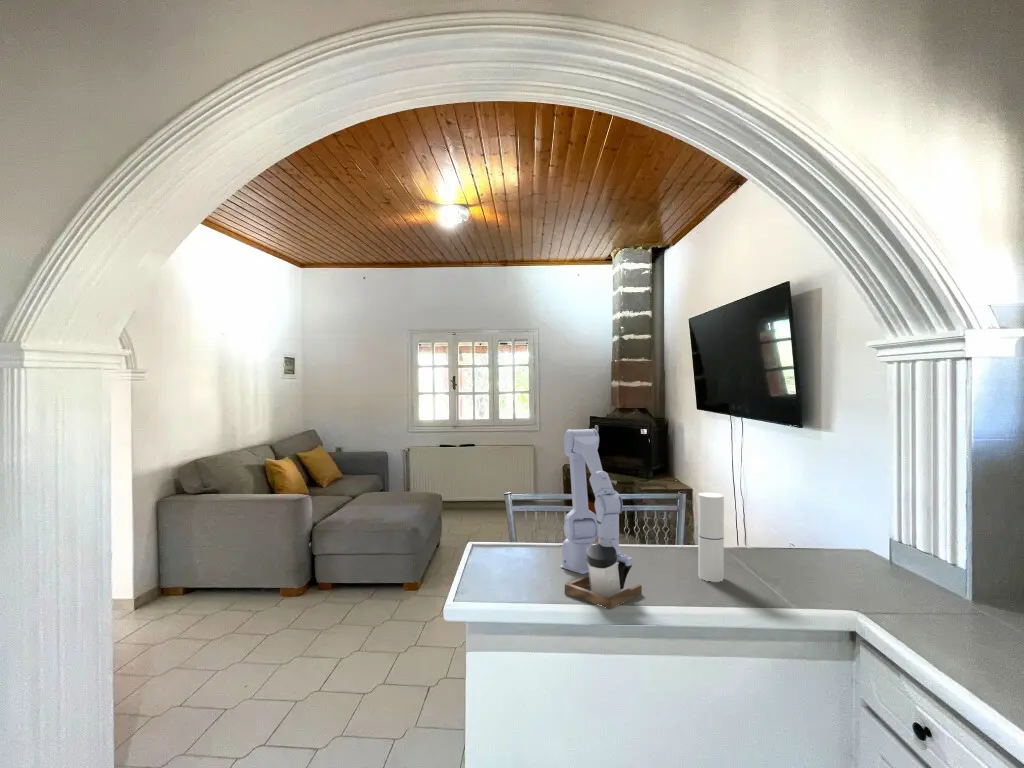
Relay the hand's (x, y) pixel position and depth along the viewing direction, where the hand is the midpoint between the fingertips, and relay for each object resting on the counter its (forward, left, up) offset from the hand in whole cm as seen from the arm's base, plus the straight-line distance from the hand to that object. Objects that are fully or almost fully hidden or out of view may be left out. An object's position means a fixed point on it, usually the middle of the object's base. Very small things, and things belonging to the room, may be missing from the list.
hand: (608, 585), depth 156 cm
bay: (0, -2, -2) cm, 3 cm away
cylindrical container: (+15, +31, -2) cm, 34 cm away
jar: (0, -2, -1) cm, 2 cm away
